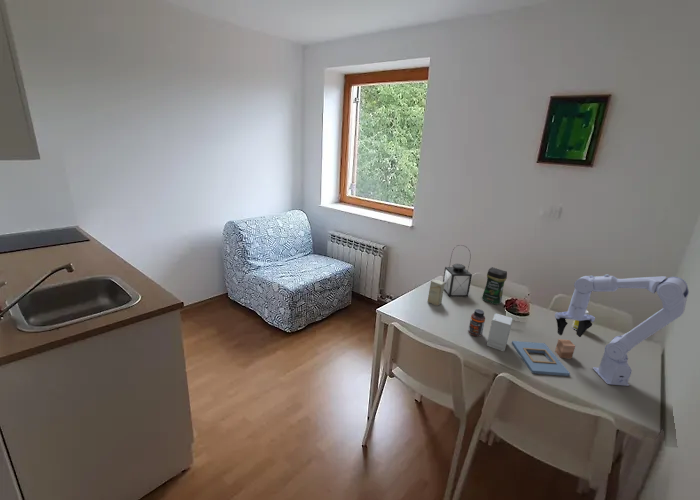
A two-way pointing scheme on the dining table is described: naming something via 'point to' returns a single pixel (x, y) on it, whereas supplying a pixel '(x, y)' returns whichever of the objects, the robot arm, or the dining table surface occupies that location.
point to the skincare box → (436, 292)
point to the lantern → (457, 280)
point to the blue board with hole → (540, 366)
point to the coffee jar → (494, 285)
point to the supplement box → (499, 332)
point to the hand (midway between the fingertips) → (568, 334)
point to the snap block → (565, 348)
